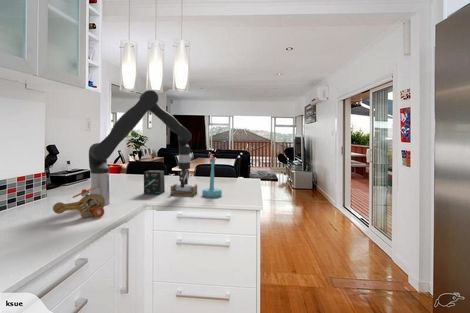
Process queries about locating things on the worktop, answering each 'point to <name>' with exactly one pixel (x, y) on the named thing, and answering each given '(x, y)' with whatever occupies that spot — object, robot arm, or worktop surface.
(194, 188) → the roll cradle
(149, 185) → the tampon box
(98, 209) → the toy helicopter
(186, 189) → the paper roll
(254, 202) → the worktop surface
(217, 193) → the blue towel holder stand
